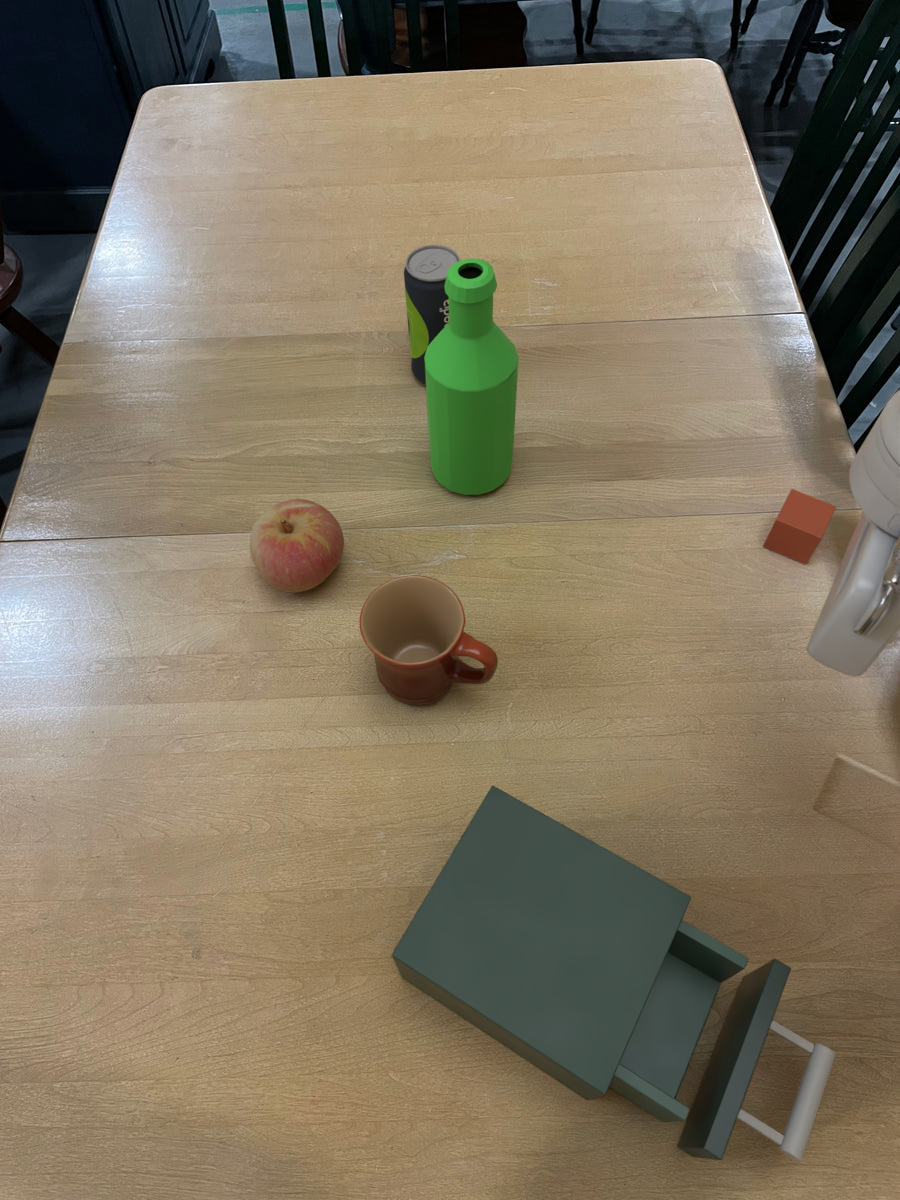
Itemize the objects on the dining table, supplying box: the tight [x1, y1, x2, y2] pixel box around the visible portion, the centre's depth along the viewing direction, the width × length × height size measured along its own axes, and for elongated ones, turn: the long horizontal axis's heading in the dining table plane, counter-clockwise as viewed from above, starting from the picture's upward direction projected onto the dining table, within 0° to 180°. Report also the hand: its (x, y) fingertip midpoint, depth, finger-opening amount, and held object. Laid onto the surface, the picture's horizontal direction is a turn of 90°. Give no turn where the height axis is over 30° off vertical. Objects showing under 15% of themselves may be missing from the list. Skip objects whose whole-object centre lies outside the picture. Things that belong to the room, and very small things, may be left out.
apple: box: [249, 498, 345, 593], centre depth 82 cm, size 9×9×8 cm
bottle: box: [424, 258, 519, 496], centre depth 82 cm, size 9×9×25 cm
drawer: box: [608, 919, 836, 1163], centre depth 59 cm, size 20×13×8 cm, turn 59°
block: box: [763, 488, 837, 565], centre depth 84 cm, size 4×4×4 cm
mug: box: [359, 574, 499, 707], centre depth 74 cm, size 12×9×10 cm
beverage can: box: [403, 244, 462, 385], centre depth 94 cm, size 6×6×15 cm
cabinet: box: [391, 785, 692, 1101], centre depth 62 cm, size 16×14×10 cm
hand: (845, 595), depth 62 cm, fingers closed
